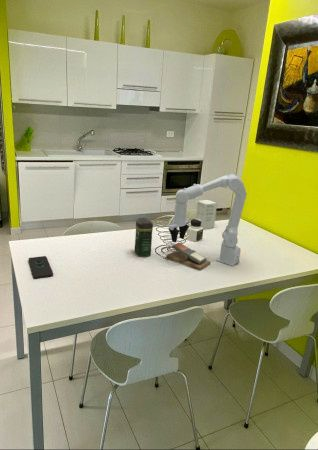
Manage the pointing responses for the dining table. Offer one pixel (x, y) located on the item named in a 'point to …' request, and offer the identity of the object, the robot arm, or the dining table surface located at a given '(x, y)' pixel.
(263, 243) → the dining table surface
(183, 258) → the switch base
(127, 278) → the dining table surface
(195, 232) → the medicine bottle
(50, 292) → the dining table surface
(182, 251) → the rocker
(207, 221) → the supplement box
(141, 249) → the coffee jar
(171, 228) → the robot arm
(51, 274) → the smart home device
